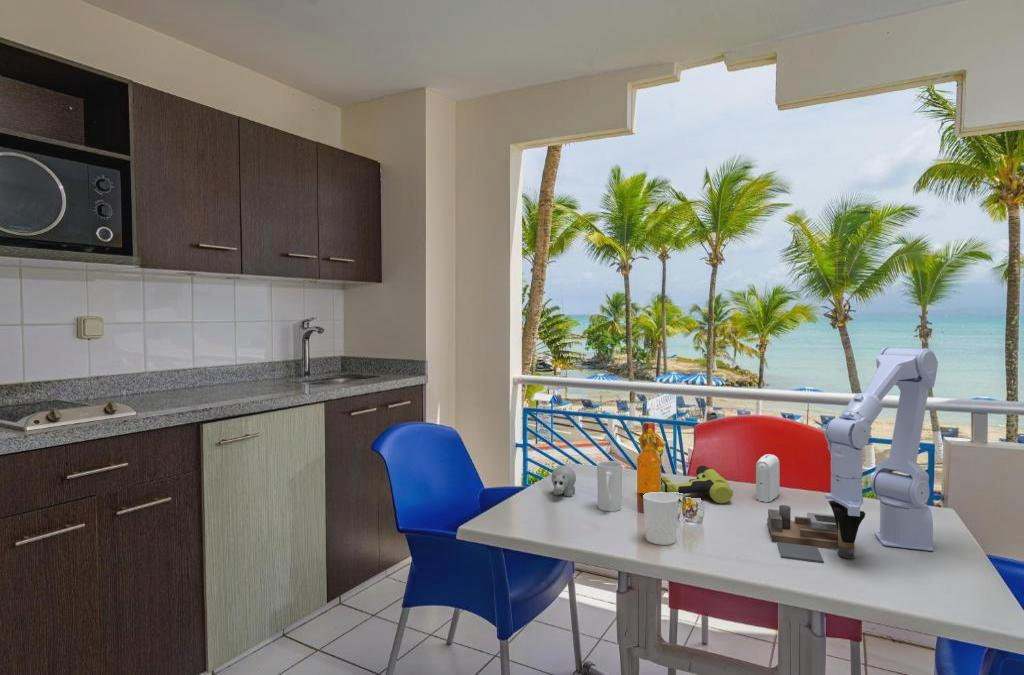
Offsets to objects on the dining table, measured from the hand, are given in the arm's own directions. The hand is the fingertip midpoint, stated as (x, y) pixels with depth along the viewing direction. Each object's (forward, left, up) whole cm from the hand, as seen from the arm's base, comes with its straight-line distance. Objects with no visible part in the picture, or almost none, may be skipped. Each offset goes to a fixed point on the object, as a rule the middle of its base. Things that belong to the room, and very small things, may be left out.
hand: (846, 539), depth 118 cm
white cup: (+38, +3, -4) cm, 38 cm away
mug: (+53, -14, -4) cm, 55 cm away
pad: (+9, +1, -4) cm, 10 cm away
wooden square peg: (0, 0, -3) cm, 3 cm away
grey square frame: (+2, -10, -2) cm, 10 cm away
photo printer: (+12, -39, -4) cm, 41 cm away
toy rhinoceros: (+68, -21, -4) cm, 71 cm away
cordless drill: (+36, -37, -4) cm, 52 cm away
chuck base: (+6, -10, -4) cm, 12 cm away
